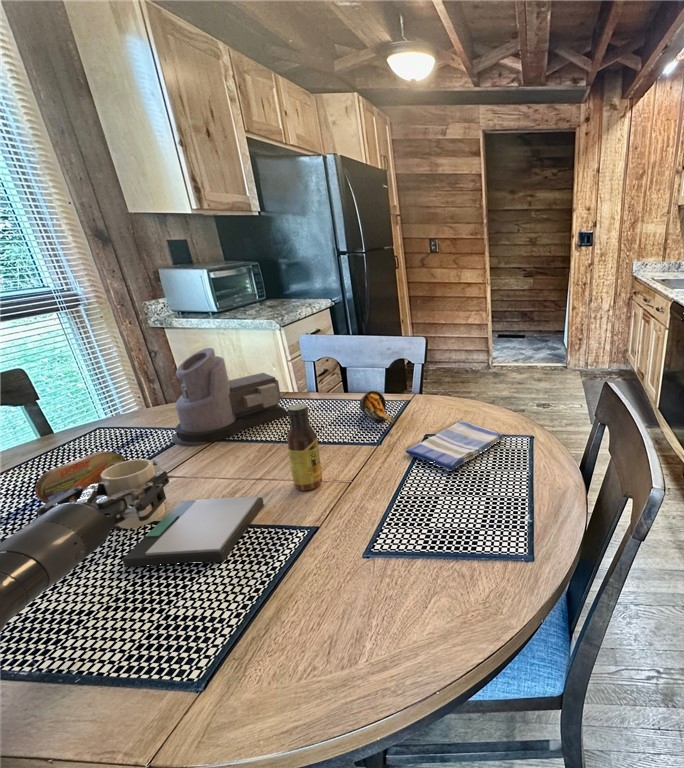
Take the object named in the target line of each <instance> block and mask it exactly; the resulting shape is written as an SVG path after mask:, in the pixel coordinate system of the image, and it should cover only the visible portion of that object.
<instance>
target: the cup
mask: <svg viewBox="0 0 684 768" xmlns="http://www.w3.org/2000/svg"><path fill="white" fill-rule="evenodd" d="M155 475H156V474H155V471H154V467H153V461H152V460H150V459H147V458H135V459H130V460H129V459H128V460H126V461H125V462H121V463H118V464H115V465H113V466H111V467H109V468H107V469H106V470H104V471H103V472H102V473H101V475H100V476H101V479H102V482H103V485H104V488H105V491H106V493H107V496H111V495H114V494H116V493H119V492H121V491H123V490H125V489H127V488H132V489H134V488H137V487H139V486H141V485H143V484H145V483H146V482H147V481H148V480H150V479H151V478H152V477H153V476H155ZM144 495H145V492H144V491H143V492H141V493H139V495H138V496H139V499H140V498H142V497H144ZM124 498H125V500H126V503H127V507H128V506H129V505H130V502H129V499H128V496H126V497H124ZM165 512H166V506H165V501H164V502H163V503H162V504H161V505H160V506H159V507H158V509H157V510H156V511H155V512H154V513H153V514H152V515H151V517H150V518H149V519H147V520H145V521H139V518H138V517H129V518H126V519H125V520H124V521H122V522H120V523H118V524H117V525H118V526H119V527H121V528H124V529H134V528H139V527H143V526H146V525H148V524H151V523H152V522H155V521H156V520H158V519H160V518H161V517H162V516H163V515H164V514H165Z"/></svg>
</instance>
